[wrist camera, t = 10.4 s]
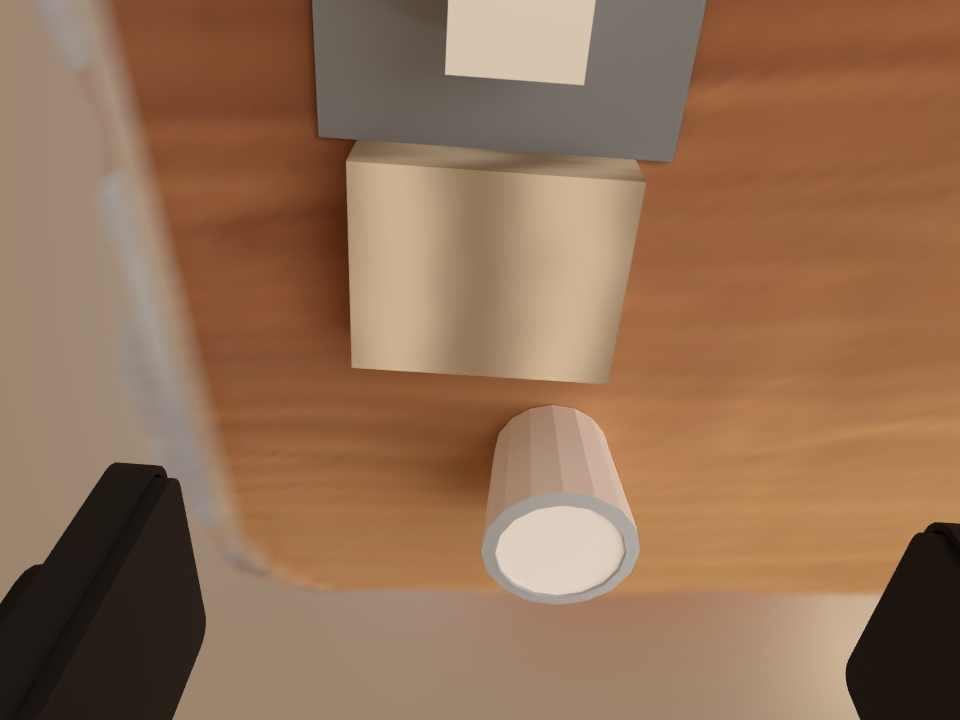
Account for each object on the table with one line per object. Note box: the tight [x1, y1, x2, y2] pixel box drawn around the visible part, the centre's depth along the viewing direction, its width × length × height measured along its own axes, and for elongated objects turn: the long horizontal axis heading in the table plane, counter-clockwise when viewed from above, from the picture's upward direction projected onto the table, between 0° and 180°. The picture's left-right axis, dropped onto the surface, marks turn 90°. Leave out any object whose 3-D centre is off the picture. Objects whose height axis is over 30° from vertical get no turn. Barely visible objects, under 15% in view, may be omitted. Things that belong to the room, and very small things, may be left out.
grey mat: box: [312, 0, 707, 162], centre depth 28 cm, size 14×10×1 cm
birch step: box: [346, 140, 647, 384], centre depth 32 cm, size 11×9×3 cm
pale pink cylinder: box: [481, 405, 640, 605], centre depth 36 cm, size 7×7×7 cm
